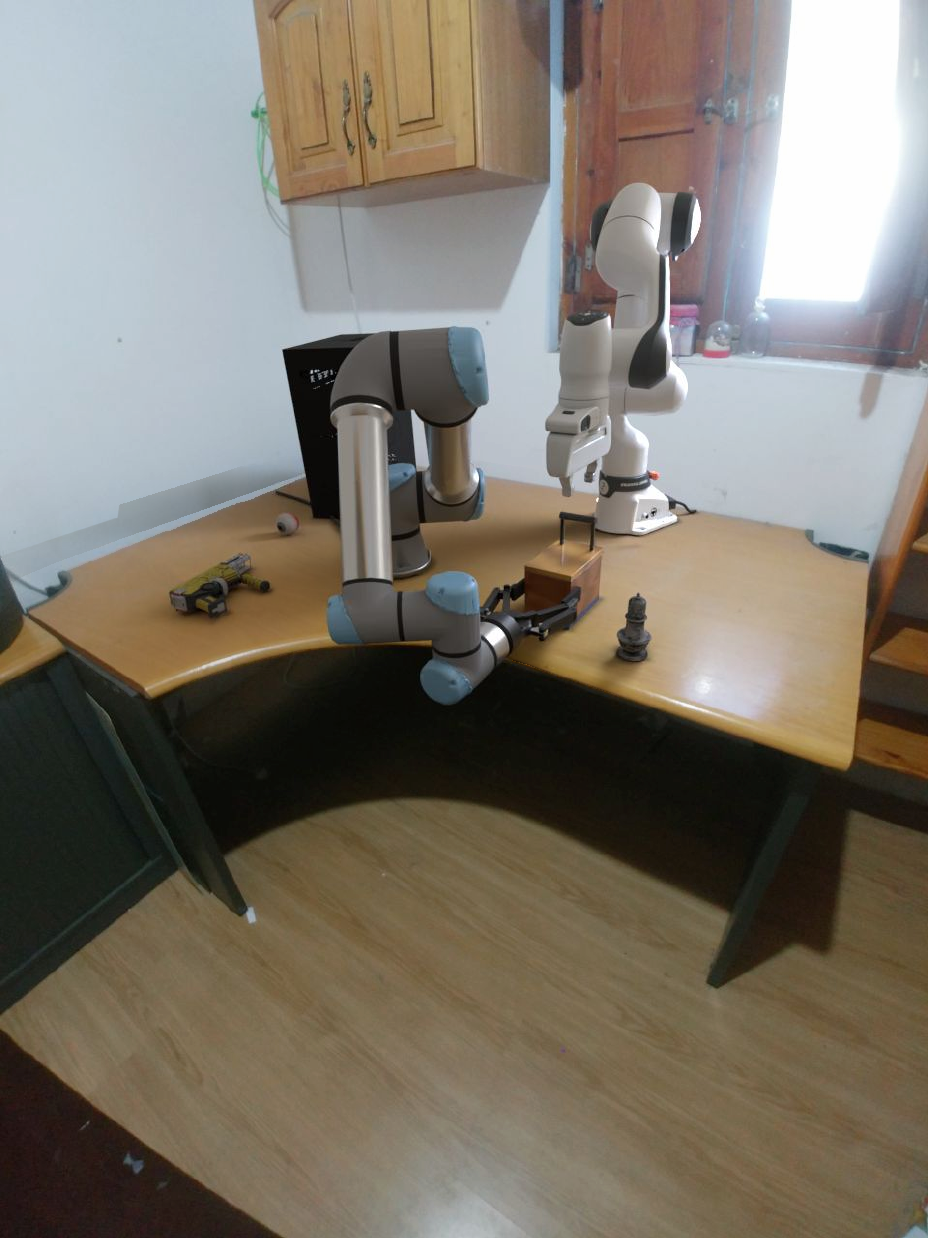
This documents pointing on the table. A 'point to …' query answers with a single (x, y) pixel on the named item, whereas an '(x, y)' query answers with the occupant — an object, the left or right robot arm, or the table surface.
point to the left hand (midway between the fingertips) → (553, 586)
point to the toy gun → (214, 587)
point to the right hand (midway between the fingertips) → (579, 488)
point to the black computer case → (316, 418)
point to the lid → (567, 553)
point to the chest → (562, 590)
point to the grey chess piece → (634, 631)
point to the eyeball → (287, 523)
